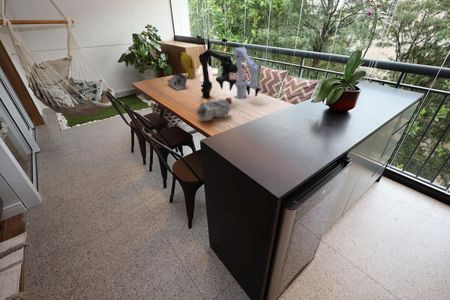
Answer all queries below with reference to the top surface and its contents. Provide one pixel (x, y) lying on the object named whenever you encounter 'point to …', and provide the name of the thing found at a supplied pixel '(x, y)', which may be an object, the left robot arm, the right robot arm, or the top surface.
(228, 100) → the brick
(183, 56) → the sculpture
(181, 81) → the gray rock
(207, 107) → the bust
